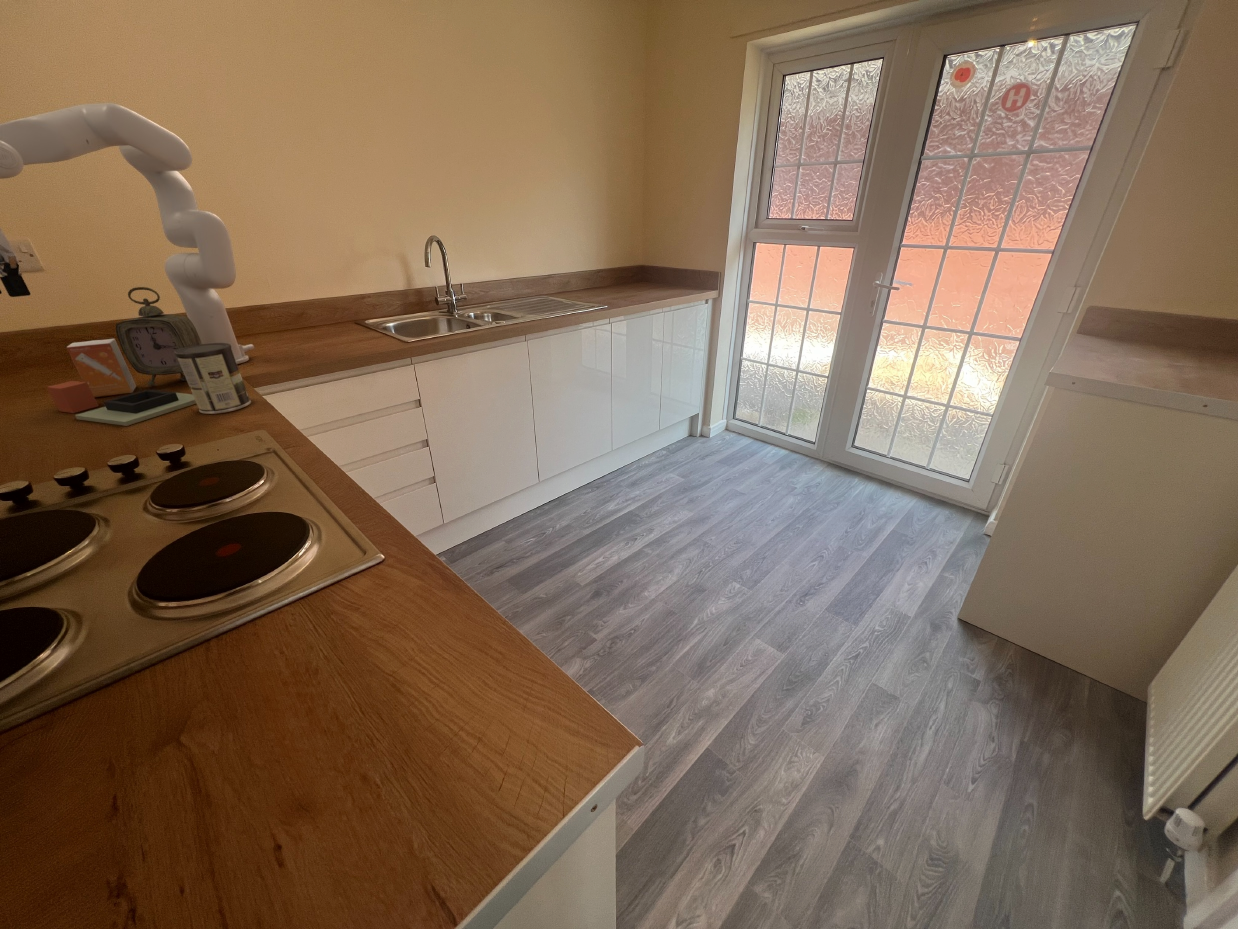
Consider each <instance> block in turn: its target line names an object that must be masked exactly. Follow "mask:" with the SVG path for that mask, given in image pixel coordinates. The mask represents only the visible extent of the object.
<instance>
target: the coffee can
mask: <svg viewBox="0 0 1238 929" xmlns="http://www.w3.org/2000/svg"><path fill="white" fill-rule="evenodd" d="M174 353H175V355H176V356H177V358H178V361H179V363H180V365H181V368H182V370H183V375H185V377H186V382H187V385H188V387H189V389H190V391H191V393H192V394H193V396H194V399H195V401H196V406H197V409H198V412H199V413H201V414H203V415H217V414H224V413H229V412H233V411H237V410H240V409H244V408H246V407H248V406H249V405H251V404H252V401H251V399H250V396H249V394H248V391H247V389H246V386H245V382H244V380H243V377H242V374H241V372H240V369H239V366H238V364H237V363H236V360H235V358H234V355H233V352H232V349H231V345H230V344H228V343H209V344H201V345H194V346H189V347H184V348H181V349H178V350H176V351H175V352H174Z"/></svg>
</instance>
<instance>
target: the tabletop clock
mask: <svg viewBox="0 0 1238 929" xmlns="http://www.w3.org/2000/svg"><path fill="white" fill-rule="evenodd" d="M135 291H149V292H152V293H153V294H155V295H156V296H157V298H156V299H155V300H151V301H149V299H148V298H146V297H145V298H142V301H139V300H136V299H133V298H132V294H133V293H134V292H135ZM127 297H128V298H129V300H130V301H131V302H133V303H135V304H138V305H143V306H141V307H140V308H139V309H138V317H134V318H130V319H126V320H122V321H120V322H118V323H116V324H115V333H116V337H117V339H118V342H119V345H120V348H121V350H122V352H123V354H124V355H125V357H126V359H127V362H128V364H130V365H131V367H132V368H133V369H134V371H135V372H136V373H137V374H142V375H146V376H151V379H150V380H148V381H147V383H146V384H147V386H149V387H155V386H156V382H155V379H156V377H157V376H169V375H176V374H179V375H180V376H179V378H180V380H181V381H184V382H185V381H186V382H187V380H186V377H185V375H184V373H183V370H182V368H181V365H180V363H179V361H178V358H177V356H176V355H175V353H174V352H175V351H176V350H178V349H181V348H184V347H189V346H194V345H201V344H202V343H201V340H200V337H199V335H198V333H197V330H196V328H195V326H194V325H193V323H192V322H191V321H190V319H189V318H188V317H187V316H185V315H182V314H171V313H170V314H168V313H166V314H165V312H164V311H163V309H161V308H160V307H158V306H156V305H154V304H156V303H158V302H159V301H160V300H161V296H160V294H159V293H158V292H157V291H156V290H155V289H153V288H150V287H146V286H136V287H132V288H131V289H129V290H128V292H127Z"/></svg>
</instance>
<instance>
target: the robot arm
mask: <svg viewBox="0 0 1238 929" xmlns="http://www.w3.org/2000/svg"><path fill="white" fill-rule="evenodd" d="M111 147H112V148H113V147H118V150H119V152H120V154H121V156H122V157H123V159H124V160H125V161H126V162H127V163H128V164H129V165H130V166H132V167H133V169H135V170H136V171H138V172H139V173H140V174H141V175H142V176H143V177H144V179H146V180H147V181H148V183H149V184H150V185H151V187H152V189H153V191H154V194H155V197H156V201H157V205H158V210H159V216H160V219H161V220H160V221H161V225H162V229H163V233H164V235H165V238H166V239H167V241H169V243H171V245H173V246H176V247H179V248H185V249H197V250H198V252H178V253H173V254H172V255H170V256H168V257H167V259H166V260H165V263H164V271H165V274H166V277H167V278H168V280H169V282H170V283H171V285H172V287H173V288H174V290H175V292H176V293H177V295H178V298H179V299H180V301H181V304H182V307H183V309H184V312H185V314H186V317H187V318H189V319H190V321H191V322H192V323H193V325H194V326H195V328H196V330H197V333H198V335H199V337H200V340H201V343H202V344H209V343H228V344H230V345H231V349H232V352H233V355H234V358H235V360H236V363H237V365H240V364H244V363H246V362H248V361H249V360H250V357H249V355H248V354H246V353H247V352H251V351H254V350H255V346H254V344H252V343H250V344H246V345H242V344H239V343H238V341H237V337H236V335H235V333H234V329H233V327H232V323H231V321H230V318H229V315H228V312H227V310H226V306H225V304H224V301H223V300H222V297H221V296H220V295H219V294H218V292H217V291H216V290H219V289H220V290H222V289H223V290H224V289H228V288H231V287H232V286H233V285H234V283H235V281H236V275H237V270H236V265H235V264H236V263H235V257H234V252H233V247H232V246H233V245H232V241H231V235H230V232H229V230H228V228H227V226H226V224H225V223H224V221H223V220H222V219H221V218H220V217H219V216H218V215H217V214H215V213H213V212H212V211H211V212H210V211H207V210H199V207H198V202H197V199H196V194H195V192H194V190H193V188H192V186H191V185H190V183H189V182H188V181H187V179H186V178H185V177H184V176H183V175H182V174H181V173H180V172H182V171H186V170H187V169H189V168H190V167H191V166H192V164H193V155H192V151H191V149H190V147H189V146H188V145H187V143H186V142H185V141H184V140H182V138H181V137H179V136H178V135H177V134H175V133H174V132H172V131H170V130H168V129H167V128H165V127H163V126H162V125H159V124H158V123H156V122H155V121H152V120H150V119H148V118H147V117H145V116H143V115H141V114H140V113H138V112H136V111H134V110H132V109H130V108H128V107H125V106H123V105H121V104H118V103H115V102H100V103H99V102H98V103H84V104H82V103H81V104H78V105H77V104H76V105H72V106H69V107H65V108H60V109H57V110H53V111H49V112H43V113H40V114H36V115H32V116H31V115H30V116H26V117H21V118H18V119H14V120H9V121H6V122H3V123H0V180H1V179H3V180H5V179H11V178H15V177H16V176H18V175H20V174H21V173H22V172H23V170H24V166H28V165H29V166H30V165H40V164H54V163H59V162H64V161H69V160H72V159H75V158H78V157H81V156H84V155H87V154H90V153H93V152H97V151H101V150H104V149H107V148H111ZM19 263H20V259H19V258H18V256H17V254H16V252H15V250H14V249H13V247H12V245H11V244H10V241H9V239H8V237H7V236H6V234H5V233H4V231H3V230H2V228H1V227H0V281H1V283H2V285H3V287H4V289H5V290H6V293H7V295H8V296H9V297H10V298H19V297H28V296H31V291H30V290H29V288H28V286H27V284H26V281H25V279H24V278H23V273H22V271H21V270H20V264H19ZM2 294H3V292H2V290H1V289H0V295H2Z"/></svg>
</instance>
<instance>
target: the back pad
mask: <svg viewBox="0 0 1238 929" xmlns="http://www.w3.org/2000/svg"><path fill="white" fill-rule="evenodd" d="M102 404H104V406H102V407H98V408H95V409H91V410H88V411H85V412H80V413H77V414H74V417H75V419H76V420H80V421H87V422H94V423H95V422H96V423H100V424H101V423H102V424H108V425H115V426H123V427H128V426H131V425H135V424H138V423H141V422H143V421H147V420H150V419H153V418H156V417H158V416H161V415H165V414H169V413H171V412H175V411H178V410H180V409H183V408H187V407H190V406H194V405H197V403H196V401H195V399H194V396H193V394H191V393H182V392H174V391H165V390H157V389H144V390H141V391H137V392H132V393H128V394H126V395H123V396H118V397H115V398H111V399H108V400H105V401H103V402H102Z"/></svg>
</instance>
